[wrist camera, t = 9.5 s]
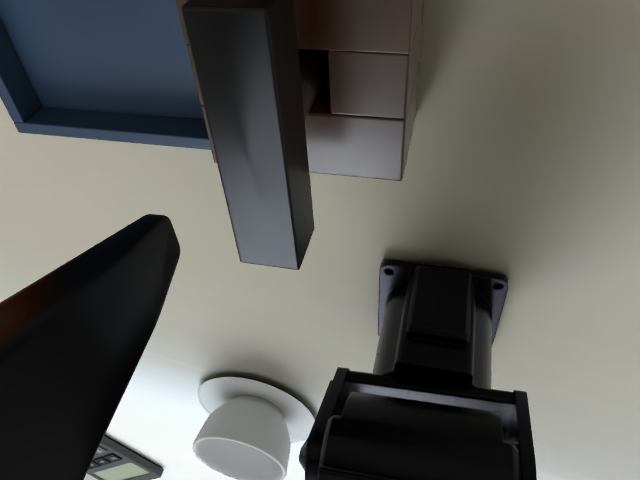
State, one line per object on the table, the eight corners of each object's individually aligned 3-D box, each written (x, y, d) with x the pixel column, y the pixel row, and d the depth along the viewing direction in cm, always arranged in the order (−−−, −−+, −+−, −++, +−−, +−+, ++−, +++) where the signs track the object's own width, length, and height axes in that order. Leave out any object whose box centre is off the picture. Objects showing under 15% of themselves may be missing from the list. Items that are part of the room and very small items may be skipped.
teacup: (234, 356, 39) (209, 414, 35) (341, 417, 41) (328, 477, 38) (181, 396, 45) (157, 448, 42) (277, 447, 48) (261, 500, 45)
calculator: (40, 410, 53) (161, 478, 58) (45, 402, 53) (164, 470, 59) (2, 430, 60) (113, 489, 65) (7, 423, 60) (117, 482, 66)
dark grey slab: (354, 120, 23) (299, 271, 17) (309, 117, 23) (239, 263, 17) (350, -96, 17) (266, 8, 11) (291, -95, 18) (179, 6, 11)
